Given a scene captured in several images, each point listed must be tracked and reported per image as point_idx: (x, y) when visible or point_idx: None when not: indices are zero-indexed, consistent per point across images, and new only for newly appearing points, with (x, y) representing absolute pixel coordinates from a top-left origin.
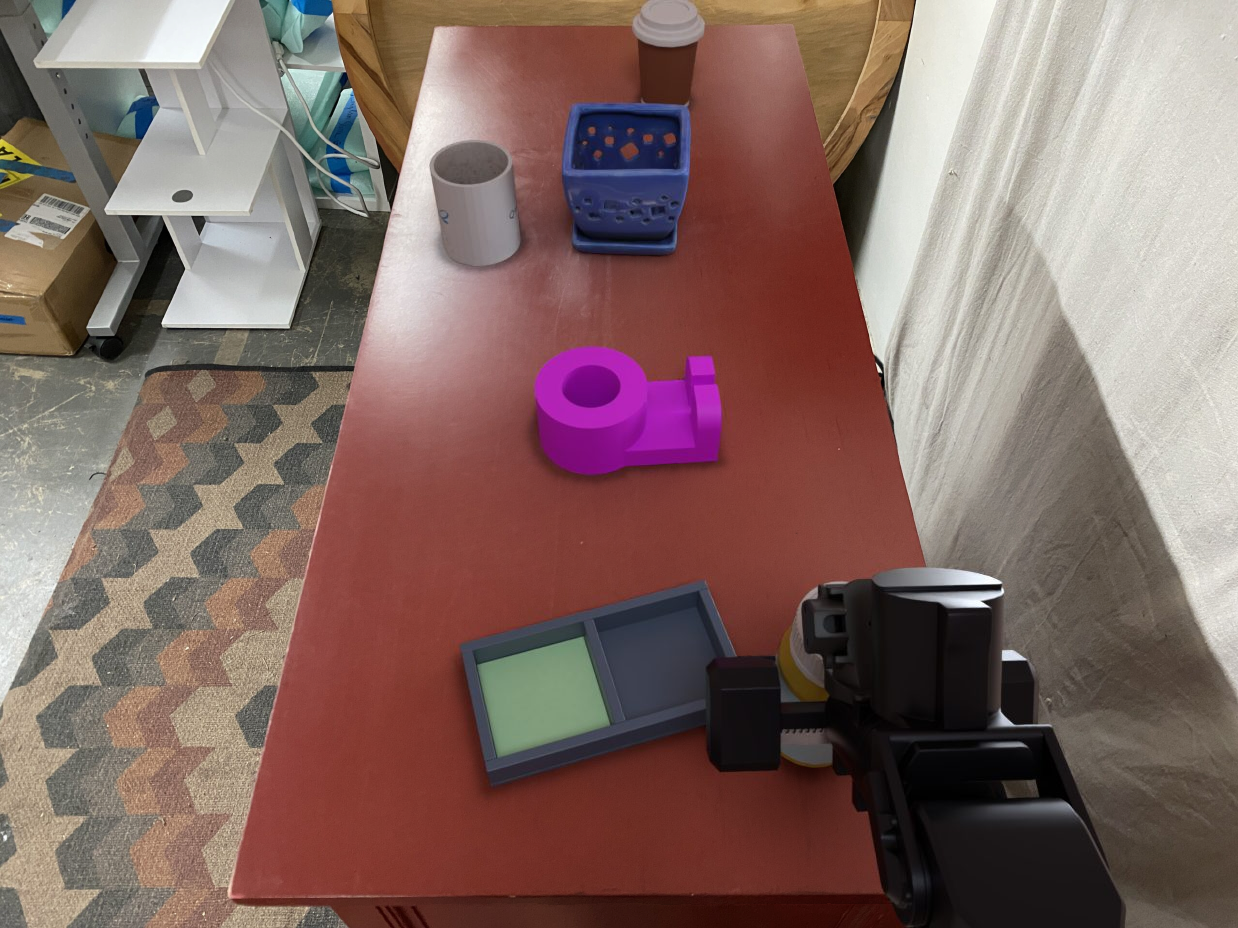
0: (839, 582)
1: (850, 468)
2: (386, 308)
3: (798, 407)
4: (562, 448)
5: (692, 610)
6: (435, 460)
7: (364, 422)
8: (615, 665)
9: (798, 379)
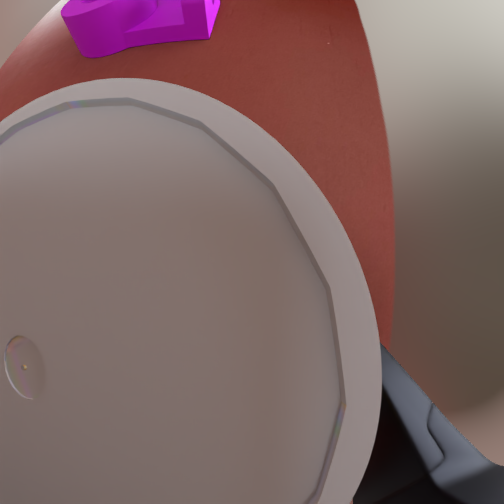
0: (91, 85)
1: (337, 57)
2: (57, 3)
3: (298, 15)
4: (75, 39)
5: None
6: (22, 70)
7: (9, 59)
8: None
9: (302, 3)
